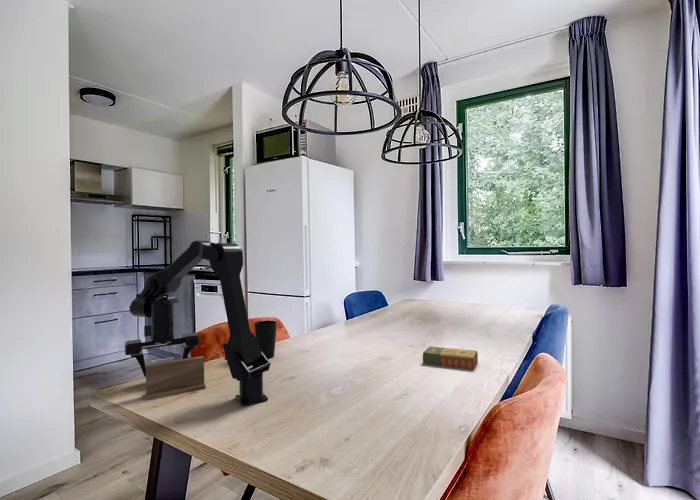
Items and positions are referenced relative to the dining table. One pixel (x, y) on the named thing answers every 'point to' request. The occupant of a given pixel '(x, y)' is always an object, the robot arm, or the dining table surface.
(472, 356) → the carton
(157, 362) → the letter cube
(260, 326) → the cup
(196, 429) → the dining table surface
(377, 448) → the dining table surface
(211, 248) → the robot arm
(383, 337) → the dining table surface
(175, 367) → the wooden l bracket
